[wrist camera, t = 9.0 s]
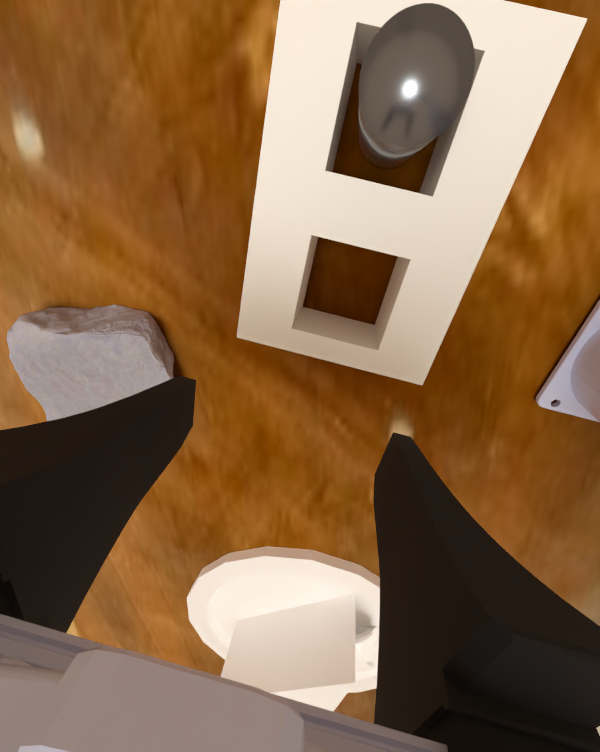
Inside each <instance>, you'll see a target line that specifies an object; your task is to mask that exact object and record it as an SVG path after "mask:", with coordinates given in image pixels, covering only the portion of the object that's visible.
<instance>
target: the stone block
mask: <svg viewBox="0 0 600 752" xmlns="http://www.w3.org/2000/svg"><path fill="white" fill-rule="evenodd" d="M7 335H8V336H7V341H8V347H9V351H10V355H9V358H10V359H11V361H12V363H13V365H14V368H15V370H16V371H17V373H18V374H19V376H20V379H21V381H22V382H23V384H24V386H25V388H26V390H27V391H28V392H29V393H30V394H31V395H33V396H34V397H35V398H36V399H37V400H38V401H39V403H40V404H41V405H42V407H43V408H44V411H45V413H46V419H47V421H51V420H56V419H61V418H65V417H68V416H72V415H76V414H79V413H83V412H86V411H89V410H93V409H96V408H99V407H102V406H105V405H107V404H110V403H113V402H116V401H118V400H121V399H124V398H126V397H129V396H132V395H134V394H137V393H139V392H141V391H144V390H146V389H149V388H151V387H153V386H156V385H158V384H160V383H163V382H165V381H168V380H170V379H172V378H174V377H173V365H174V354H173V352H172V351H171V349H170V348H169V346H168V344H167V341H166V339H165V337H164V335H163V334H162V332H161V330H160V328H159V326H158V324H157V323H156V321H155V320H154V318H153V317H152V316H151V315H150V314H149V313H148V312H145V311H142V310H135V309H131V308H128V307H125V306H119V305H111V306H106V307H99V306H98V307H95V308H93V309H80V308H73V307H70V308H68V307H56V308H47V309H45V310H39V311H34V312H31V313H27V314H24V315H22V316H20V317H19V318H18V320H17V321H16V322H15V323H14V324H13V326H12V327H11V328H10V329H9V331H8V333H7Z"/></svg>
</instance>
